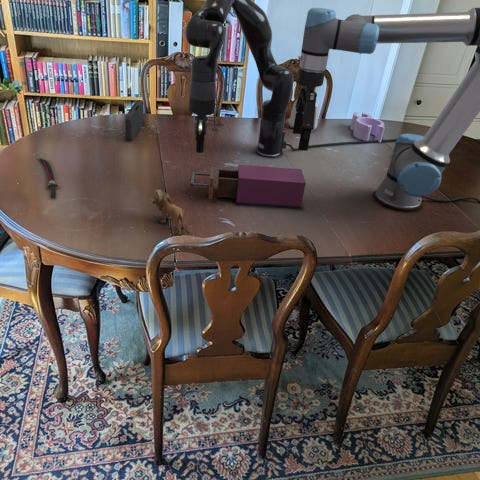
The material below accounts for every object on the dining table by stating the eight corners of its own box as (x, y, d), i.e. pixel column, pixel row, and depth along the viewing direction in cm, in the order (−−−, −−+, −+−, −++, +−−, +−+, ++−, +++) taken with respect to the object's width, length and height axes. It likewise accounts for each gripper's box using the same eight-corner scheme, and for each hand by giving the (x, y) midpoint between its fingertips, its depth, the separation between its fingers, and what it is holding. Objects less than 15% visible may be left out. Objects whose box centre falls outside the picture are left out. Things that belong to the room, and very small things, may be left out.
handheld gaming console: (137, 122, 202) (137, 99, 196) (144, 122, 202) (143, 99, 196) (124, 141, 182) (123, 116, 177) (131, 141, 182) (131, 116, 177)
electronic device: (317, 128, 217) (329, 60, 200) (313, 133, 211) (326, 64, 194) (291, 123, 219) (301, 56, 203) (287, 127, 213) (297, 59, 197)
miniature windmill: (215, 130, 202) (220, 57, 186) (196, 127, 203) (199, 55, 187) (220, 124, 209) (225, 53, 193) (202, 121, 210) (205, 51, 194)
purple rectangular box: (236, 204, 148) (238, 178, 143) (235, 189, 156) (238, 164, 151) (301, 209, 149) (305, 182, 144) (297, 194, 158) (301, 169, 153)
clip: (343, 126, 223) (346, 112, 219) (367, 127, 225) (371, 113, 221) (360, 142, 206) (364, 127, 202) (386, 142, 209) (390, 127, 205)
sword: (61, 197, 141) (61, 193, 140) (50, 198, 139) (50, 194, 139) (49, 160, 164) (48, 156, 163) (39, 160, 163) (39, 157, 162)
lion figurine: (148, 218, 136) (147, 190, 131) (161, 212, 139) (161, 185, 134) (183, 238, 128) (184, 210, 123) (197, 232, 132) (198, 204, 127)
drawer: (189, 197, 147) (189, 176, 143) (191, 184, 154) (191, 164, 151) (269, 203, 148) (272, 182, 145) (267, 190, 156) (270, 170, 152)
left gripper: (190, 88, 139) (189, 143, 149) (187, 101, 128) (185, 159, 138) (216, 90, 140) (212, 144, 149) (215, 103, 129) (211, 161, 138)
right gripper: (293, 58, 141) (283, 126, 152) (304, 79, 120) (292, 156, 132) (317, 60, 141) (306, 128, 153) (333, 82, 121) (318, 158, 132)
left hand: (199, 151), depth 143 cm, fingers closed
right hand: (299, 141), depth 142 cm, fingers open, 13 cm apart
